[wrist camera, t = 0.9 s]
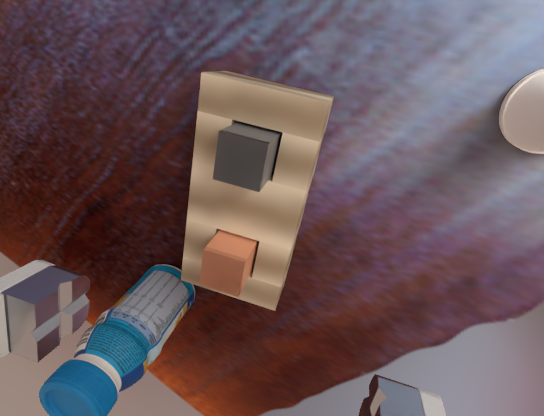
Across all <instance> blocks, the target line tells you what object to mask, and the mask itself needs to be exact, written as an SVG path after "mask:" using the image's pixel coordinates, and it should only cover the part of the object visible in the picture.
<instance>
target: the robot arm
mask: <svg viewBox="0 0 544 416" xmlns="http://www.w3.org/2000/svg"><path fill="white" fill-rule="evenodd" d="M89 289H90V282H89V278H88V277H86V276H85V275H82V274H80V273H77V272H74V271H71V270H69V269H66V268H63V267H61V266H58V265H54V264H51V263H49V262H46V261H43V260H35V261H33V262H31V263H29V264H27V265H25V266H23V267H21V268H19V269H17V270H15V271H13V272H11V273H9V274H7V275H5V276H3V277H1V278H0V358H1V357H3V356H6V355H8V354H9V352H10V353H13V354H16V355H18V356H21V357H24V358H27V359H30V360H33V361H35V362H39V361H40V360H41V359H43V358H44V357H45V356H46V355H48V354H49V353H50V352H51V351H52V350H54V349H55V348H56V347H57V346H59V343H60V339H61V337H65V336H67V335H71V334H73V333H74V332H75V331H76V330H78V329H79V328H80V327H81V326H82V324H83V323H84V321H85V320H86V318H87V315H88V312H89V305H90V302H89V300H88V298H87V296H86V295H85V293H86V292H87V291H88V290H89ZM369 394H370V395H369V397H367V398H365V399H364V400H363V403H362V406H361V409H360V412H359V416H446V413H445V410H444V406H443V403H442V399H441V397H440V396H439V395H438V394H435V393H432V392H429V391H426V390H423V389H419V388H415V387H412V386H409V385H406V384H403V383H400V382H397V381H394V380H391V379H388V378H385V377H382V376H379V375H376V374H375V375H374V377H373V378H372V380H371V383H370V385H369Z"/></svg>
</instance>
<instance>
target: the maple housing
mask: <svg viewBox="0 0 544 416" xmlns="http://www.w3.org/2000/svg"><path fill="white" fill-rule="evenodd" d="M333 99H334V96H330V95H326V94H322V93H317V92H313V91H309V90H305V89H300V88H296V87H292V86H288V85H283V84H279V83H275V82H271V81H266V80H262V79H258V78H254V77H250V76H245V75H241V74H237V73H233V72H228V71H213V72H201V82H200V92H199V102H198V112H197V122H196V132H195V142H194V152H193V162H192V172H191V182H190V192H189V202H188V212H187V222H186V232H185V243H184V253H183V263H182V273H181V280H182V281H185V282H188V283H191V284H194V285H197V286H200V287H204V288H207V289H210V290H213V291H216V292H219V293H222V294H225V295H228V296H231V297H234V298H237V299H240V300H243V301H246V302H250V303H253V304H256V305H259V306H262V307H265V308H268V309H271V310H274V311H275V309H276V306H277V303H278V300H279V297H280V294H281V291H282V289H283V286H284V283H285V279H286V276H287V272H288V268H289V264H290V261H291V257H292V253H293V249H294V246H295V242H296V238H297V234H298V231H299V227H300V223H301V219H302V216H303V212H304V208H305V204H306V201H307V197H308V193H309V189H310V186H311V182H312V178H313V174H314V171H315V167H316V163H317V159H318V156H319V152H320V148H321V144H322V141H323V137H324V133H325V129H326V126H327V122H328V118H329V114H330V111H331V107H332V103H333ZM238 121H240V122H244V123H248V124H251V125H255V126H259V127H263V128H267V129H271V130H275V131H279V132H283V133H282V138H281V143H280V147H279V152H278V157H277V161H276V163H275V168H274V173H273V175H272V176H271V177H270V179H269V180H268V181H267V183H266V184H265V185H264V187H263V188H262V189H261V190H260V192H257V191H253V190H249V189H246V188H242V187H239V186H235V185H232V184H228V183H224V182H221V181H217V180H214V179H213V172H214V165H215V157H216V149H217V142H218V134H219V131H220V130H222V129H224V128H226V127H228V126H230V125H232V124H234V123H236V122H238ZM219 230H224V231H227V232H230V233H233V234H237V235H240V236H243V237H247V238H250V239H253V240H257V241H259V246H258V250H257V253H256V258H255V263H254V267H253V270H252V272H251V274H250V276H249V278H248V279H247V281H246V283H245V285H244V287H243V289H242V291H241V293H240V295H239V297H237V296H234V295H231V294H228V293H225V292H221V291H218V290H215V289H212V288H209V287H206V286H203V285H200V284H199V280H200V273H201V265H202V257H203V250H204V248H205V247H206V246H207V245H208V243H209V242H210V241H211V240H212V239H213V237H214V236H215V235H216V234H217V233H218V231H219Z"/></svg>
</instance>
